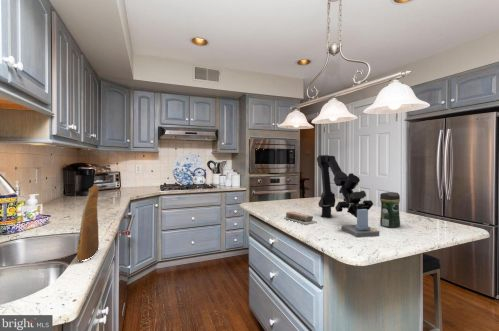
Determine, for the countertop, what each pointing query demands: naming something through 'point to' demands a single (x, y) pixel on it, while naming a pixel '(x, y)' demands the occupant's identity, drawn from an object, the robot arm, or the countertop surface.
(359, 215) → the switch lever
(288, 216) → the packaged product
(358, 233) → the switch box
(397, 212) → the coffee jar
